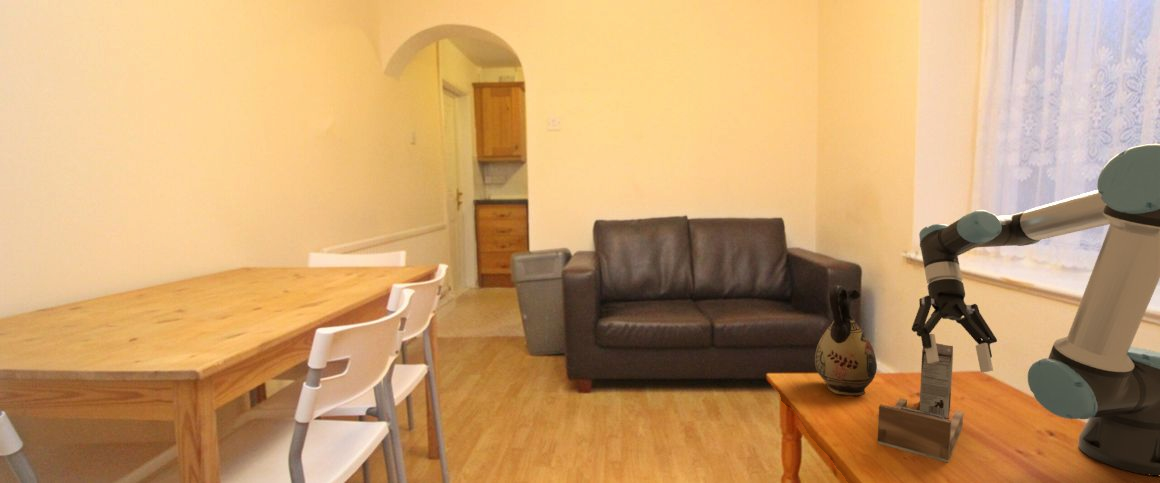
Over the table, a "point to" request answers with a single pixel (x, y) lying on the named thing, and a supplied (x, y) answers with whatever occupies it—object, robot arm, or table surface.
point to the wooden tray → (918, 431)
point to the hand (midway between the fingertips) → (960, 367)
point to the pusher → (923, 412)
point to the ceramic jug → (845, 349)
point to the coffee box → (937, 382)
